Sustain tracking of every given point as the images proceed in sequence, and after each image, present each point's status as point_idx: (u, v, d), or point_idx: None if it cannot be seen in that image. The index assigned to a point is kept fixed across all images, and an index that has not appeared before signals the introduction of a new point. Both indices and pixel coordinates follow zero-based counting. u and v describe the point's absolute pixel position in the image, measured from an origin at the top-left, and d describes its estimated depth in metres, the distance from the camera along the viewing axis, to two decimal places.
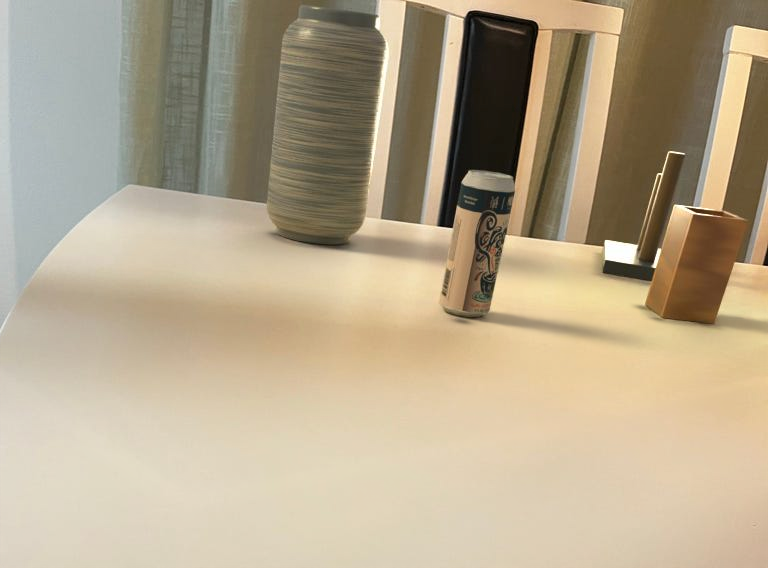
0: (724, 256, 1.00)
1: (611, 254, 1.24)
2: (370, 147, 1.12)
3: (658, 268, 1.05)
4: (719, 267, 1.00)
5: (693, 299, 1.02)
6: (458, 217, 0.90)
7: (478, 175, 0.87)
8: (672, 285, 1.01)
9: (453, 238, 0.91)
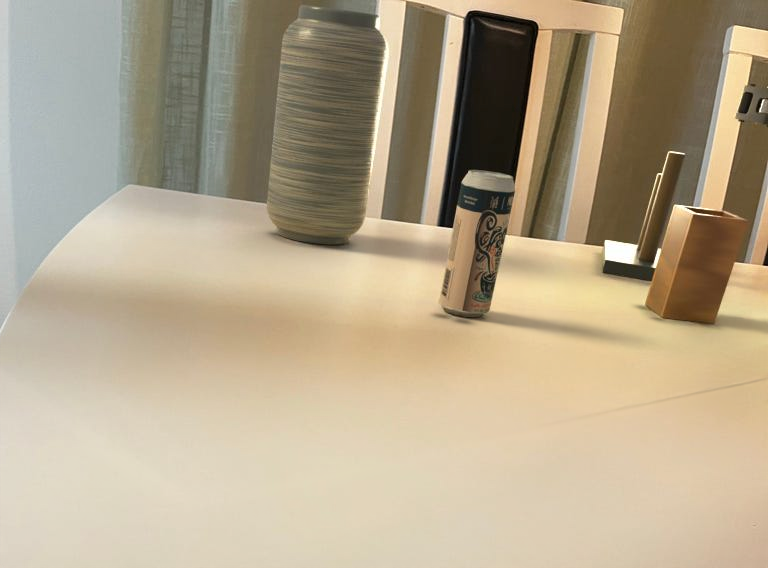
0: (724, 256, 1.00)
1: (611, 254, 1.24)
2: (370, 147, 1.12)
3: (658, 268, 1.05)
4: (719, 267, 1.00)
5: (693, 299, 1.02)
6: (458, 217, 0.90)
7: (478, 175, 0.87)
8: (672, 285, 1.01)
9: (453, 238, 0.91)
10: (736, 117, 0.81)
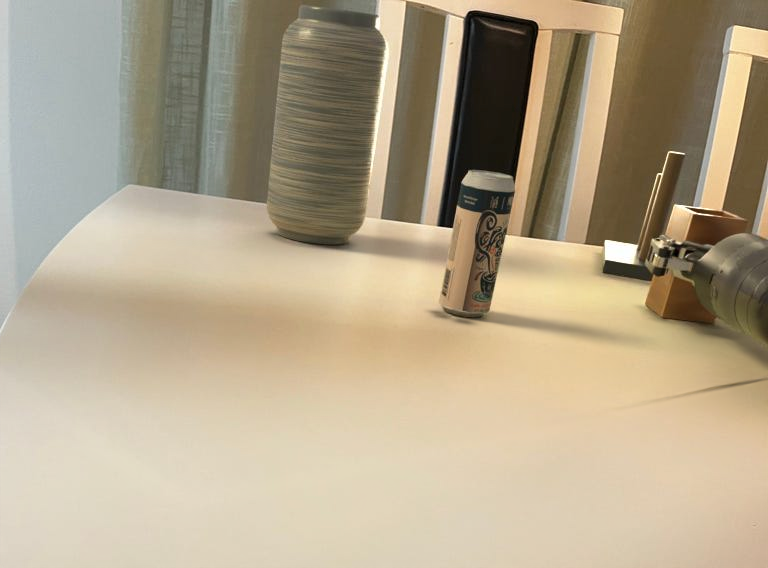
0: None
1: (611, 254, 1.24)
2: (370, 147, 1.12)
3: None
4: None
5: (693, 299, 1.02)
6: (458, 217, 0.90)
7: (478, 175, 0.87)
8: (672, 285, 1.01)
9: (453, 238, 0.91)
10: (645, 263, 1.00)
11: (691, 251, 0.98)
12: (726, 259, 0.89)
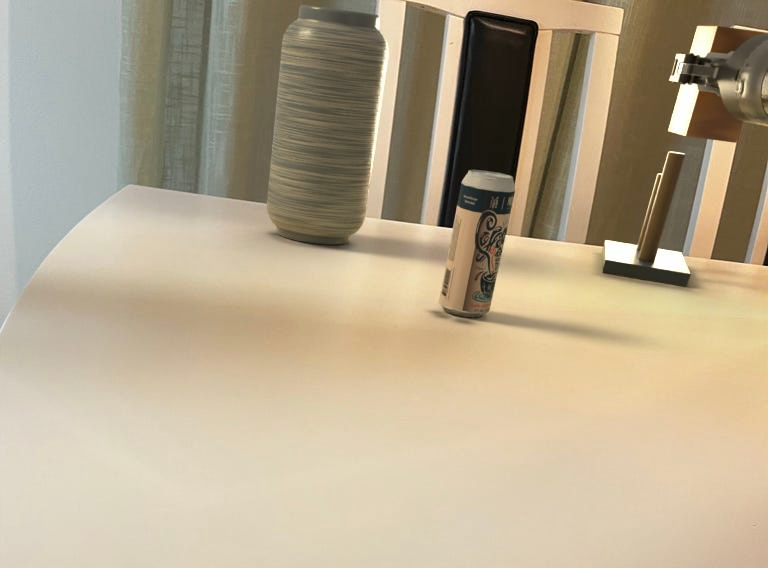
0: None
1: (611, 254, 1.24)
2: (370, 147, 1.12)
3: (681, 91, 1.08)
4: None
5: (716, 117, 1.05)
6: (458, 217, 0.90)
7: (478, 175, 0.87)
8: (696, 102, 1.04)
9: (453, 238, 0.91)
10: (670, 79, 1.03)
11: None
12: (752, 52, 0.92)
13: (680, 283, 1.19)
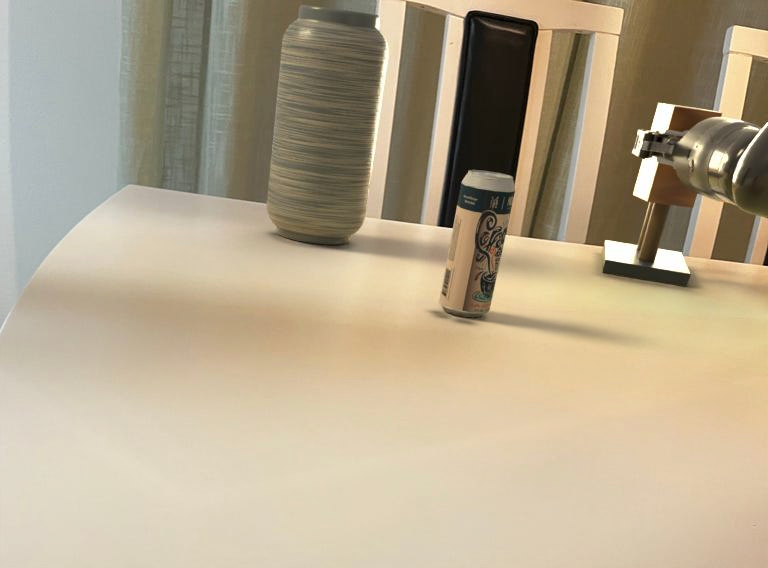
0: None
1: (611, 254, 1.24)
2: (370, 147, 1.12)
3: (644, 160, 1.20)
4: None
5: (674, 185, 1.17)
6: (458, 217, 0.90)
7: (478, 175, 0.87)
8: (656, 172, 1.16)
9: (453, 238, 0.91)
10: (632, 152, 1.15)
11: None
12: (701, 135, 1.04)
13: (680, 283, 1.19)
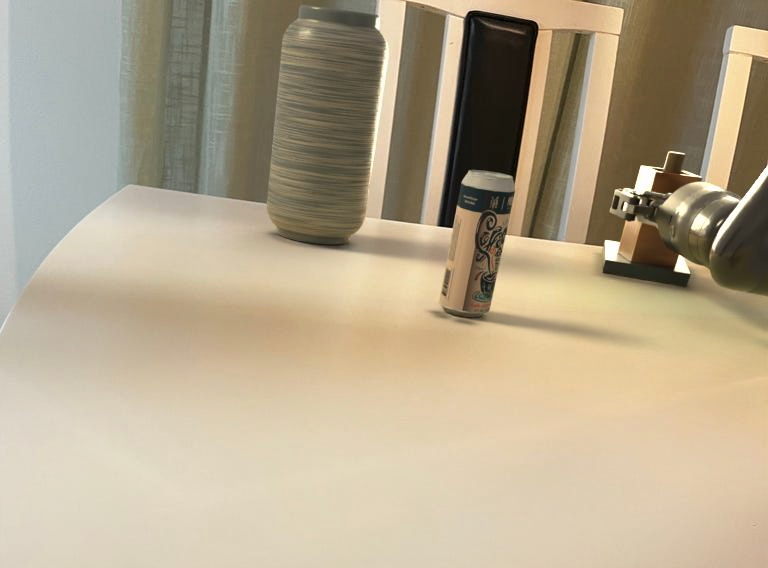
0: None
1: (611, 254, 1.24)
2: (370, 147, 1.12)
3: None
4: None
5: (657, 245, 1.20)
6: (458, 217, 0.90)
7: (478, 175, 0.87)
8: (639, 233, 1.19)
9: (453, 238, 0.91)
10: (610, 211, 1.17)
11: None
12: (682, 202, 1.07)
13: (680, 283, 1.19)
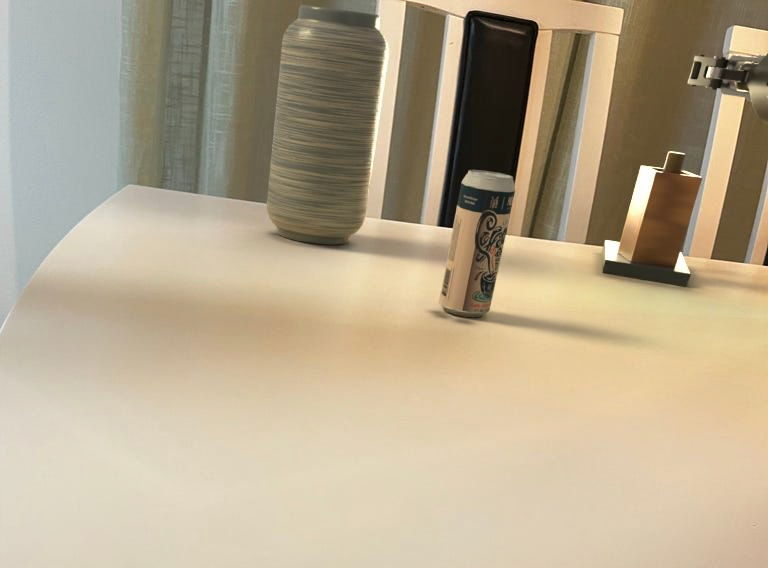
0: (682, 208, 1.18)
1: (611, 254, 1.24)
2: (370, 147, 1.12)
3: (628, 220, 1.23)
4: (678, 218, 1.18)
5: (657, 245, 1.20)
6: (458, 217, 0.90)
7: (478, 175, 0.87)
8: (639, 233, 1.19)
9: (453, 238, 0.91)
10: (689, 82, 0.99)
11: None
12: None
13: (680, 283, 1.19)
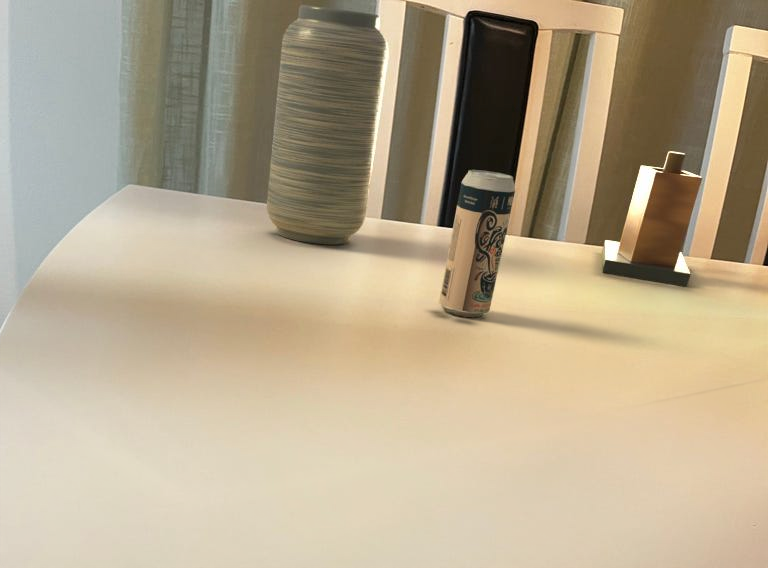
0: (682, 208, 1.18)
1: (611, 254, 1.24)
2: (370, 147, 1.12)
3: (628, 220, 1.23)
4: (678, 218, 1.18)
5: (657, 245, 1.20)
6: (458, 217, 0.90)
7: (478, 175, 0.87)
8: (639, 233, 1.19)
9: (453, 238, 0.91)
10: None
11: None
12: None
13: (680, 283, 1.19)
